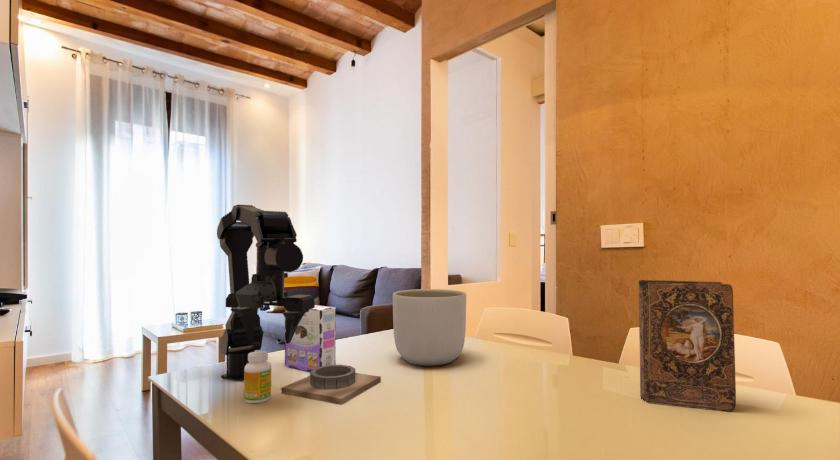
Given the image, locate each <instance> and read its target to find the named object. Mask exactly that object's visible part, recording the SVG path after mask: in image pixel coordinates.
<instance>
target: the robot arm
mask: <svg viewBox="0 0 840 460" xmlns="http://www.w3.org/2000/svg"><path fill="white" fill-rule="evenodd" d="M216 228H217V229H216V235H217V236H216V237H217V239H218V240H219V247H220V249H221V250H222V251H223V252H224V254H225V255H226V256H227V262H228V277H229V281H228V282H229V293H228V295H227V297H226V298H225V308H230V311H231V313H230V315H229V316H228V318H227V321H226V322H225V329H224V330H223V334H222V337H221V340H220V342H219V349H220V353H222V354H223V355H225V356H226V373H224V374H222V375H220V377H221V378H223V379H227V380H233V381H238V382H239V381H244V368H245V366H246V364H248V363H249V361H248V354H249V353H251V352H256V351H262V350H261V349H262V345H263V344H262V343H263V338H264V330H263V327H262V325H261V317H260V315H259V313H258V312H259V311H258V310H259V308H261V306H272V307H283V308H284V310H285V309H286V311H287V312H285V311H283V312H282V315H283V317H284V320H285V319H286V334H285V333H284V339H285V338H286V343H287V344H288V343H290V342H291V340H292V337H293V335H294V333H295V331H296V329H297V326H298V324H299V322H300V321H301V319H302V317H303V315H304V314H305V313H306V312H309V309H312V308H315V305H316V304H315V303H316V302H315V301H316V300H315V299H314V297H313V295H312V294H295V295H294V294H293V295H290V296H288V291H285V279H286V278H289V276H288V275H289V273H292V272H295V271H297V270H298V269H299V268H300V267H301V265H302V263H303V261H304V254H303V252H302V249H301V248H300V247H299V246H298V245H297V244H295V243H297V240H298V239H297V235H298V234H297V232H296V230H295V228H294V225H293V223H292V219H291V217H289V214H288V212H286V211H280V210H279V211H276V210H264V209H261V208H258V207H256V206H253V205H252V204H234V205H233V206H232V209H231V211H229V212H228V213H226V214H225V215H224V216H222V217H221V218H220V220H219V223H218V226H217V227H216ZM254 237H255V239H256V241H257V242H256V244H255V247H256V270H255V271H256V273H253V274H252V276H251V278H250V275H249V263H248V262H249V260H248V252H249V250H250V249H251V246H252V245H253V243H254ZM250 279H251V280H250Z"/></svg>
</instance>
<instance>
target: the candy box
mask: <svg viewBox="0 0 840 460" xmlns="http://www.w3.org/2000/svg"><path fill="white" fill-rule="evenodd" d="M336 308H337V307H335V306H327V305H326V306H325V305H317V304H315V308H312V309H309V312H306V313H305V314H304V315H303V317H302V319H301V321H300V322H299V324H298V326H297V329H296V331H295V333H294V335H293V337H292V340H291V342H290V343H288V344H287V343H286V338H285V337H284V367H285V368H291V369H295V370H299V371H300V370H301V371H304V372H305V371H306V372H309V373H311V371H312V370H313V369H315V368H318V367H321V366H327V365H337V364H336V349H337V347H336V343H337V342H336V335H337V334H336V327H337V325H336V324H337V323H336V317H337V316H336V312H337V311H336V310H337V309H336ZM284 312H287V311H286V309H285V308H284ZM285 334H286V319H285V318H284V335H285Z"/></svg>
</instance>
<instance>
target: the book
mask: <svg viewBox="0 0 840 460" xmlns="http://www.w3.org/2000/svg"><path fill="white" fill-rule="evenodd" d="M733 288H734V287H733V286H732V285H731V284H728V283H723V282H721V281H700V280H699V281H698V280H665V279H664V280H660V279H657V280H656V279H655V280H653V279H639V280H638V320H639V323H638V324H639V328H638V329H639V330H638V331H639V334H638V335H639V387H640V388H639V389H640V390H639V391H640V392H639V395H640V397H641V398H640V399H641V400H642V399H643V400H644V401H643V400H642V401H643V402H645V401H646V402H645V403H647V402H649V403H648V404H654V403H656V404H655V405H663V404H665V406H672V405H679V406H678V407H681V406H688V407H687V408H690V407H698V408H697V409H700V408H705V409H704V410H709V409H716V410H715V411H721V410H730V411H729V412H733V411H734V410H735V409H736V406H737V405H736V403H737V395H736V394H737V393H736V391H737V390H736V389H737V386H736V383H737V382H736V358H735V357H736V354H735V353H736V352H735V350H736V349H735V316H734V291H733V290H734V289H733Z"/></svg>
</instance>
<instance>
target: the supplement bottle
mask: <svg viewBox="0 0 840 460" xmlns="http://www.w3.org/2000/svg"><path fill="white" fill-rule="evenodd" d="M268 359H269V353H268V351H264V350H255V352H251V353H249V354H248V361H249V363H248V364H246V366H245V368H244V379H243V388H244V389H243V401H244V402H245V403H248V404H260V403H264V402H267V401H269V400H270V399H271V397H272V363H270V361H267V360H268Z"/></svg>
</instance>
